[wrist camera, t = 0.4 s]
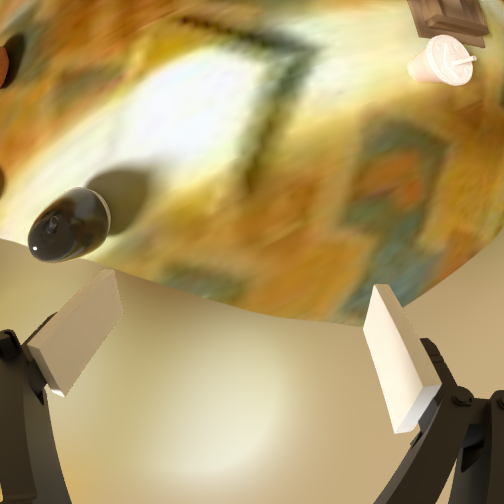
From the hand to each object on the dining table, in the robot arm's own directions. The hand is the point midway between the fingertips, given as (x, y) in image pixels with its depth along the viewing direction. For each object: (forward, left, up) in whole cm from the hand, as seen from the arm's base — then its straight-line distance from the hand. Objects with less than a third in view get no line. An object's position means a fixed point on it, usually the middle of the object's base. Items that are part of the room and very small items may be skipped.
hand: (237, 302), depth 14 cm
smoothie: (-15, +25, -28) cm, 40 cm away
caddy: (-27, +33, -28) cm, 50 cm away
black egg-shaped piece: (-2, -27, -28) cm, 39 cm away
